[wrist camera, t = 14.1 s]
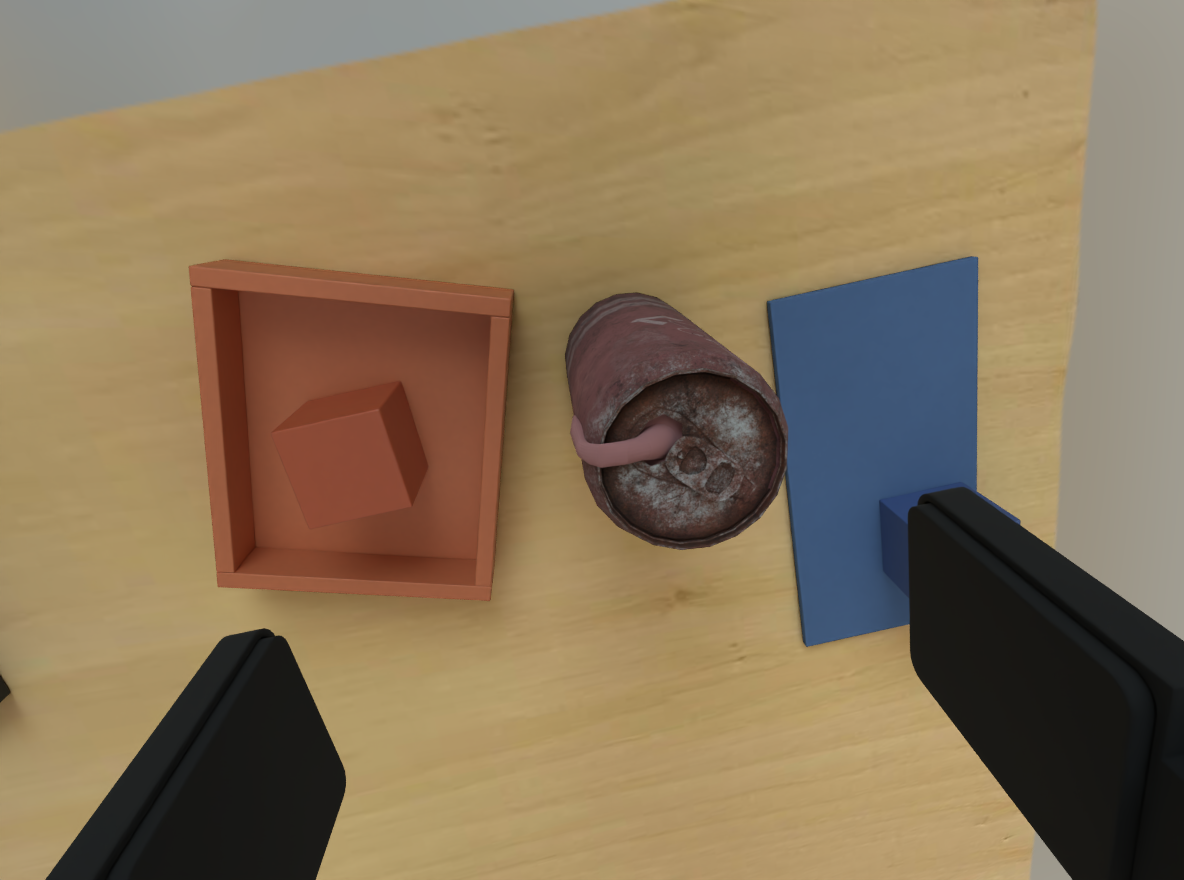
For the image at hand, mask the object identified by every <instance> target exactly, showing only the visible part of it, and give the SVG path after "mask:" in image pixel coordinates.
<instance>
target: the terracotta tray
mask: <svg viewBox="0 0 1184 880" xmlns="http://www.w3.org/2000/svg"><path fill="white" fill-rule="evenodd" d="M189 275H190V285H191V286H192V287H191V296H192V307H193V318H194V329H195V340H196V351H197V362H198V373H199V384H200V395H201V406H202V417H203V428H204V439H205V450H206V461H207V472H208V483H209V494H210V504H211V515H212V526H213V537H214V548H215V559H216V570H217V583H218V587H228V588H248V589H267V590H287V591H307V592H326V593H346V594H366V595H385V596H405V597H425V598H445V599H464V600H484V601H490V600H491V591H492V583H493V574H494V565H495V551H496V537H497V523H498V509H499V494H500V480H501V466H502V452H503V438H504V424H505V410H506V396H507V382H508V368H509V353H510V339H511V325H512V311H513V297H514V290H513V289H504V288H494V287H485V286H475V285H465V284H456V283H446V282H437V281H427V280H417V279H408V278H398V277H388V276H379V275H369V274H360V273H350V272H340V271H331V270H321V269H311V268H302V267H292V266H283V265H273V264H263V263H254V262H244V261H234V260H219V261H214V262H208V263H203V264H197V265H192V266H189ZM396 381H401V382H402V385H403V388H404V391H405V394H406V397H407V401H408V404H409V407H410V410H411V413H412V416H413V419H414V423H415V426H416V429H417V432H418V435H419V438H420V441H421V444H422V448H423V451H424V454H425V457H426V460H427V463H428V466H429V467H428V470H427V472H426V475H425V477H424V480H423V482H422V484H421V487H420V489H419V492H418V494H417V496H416V499H415V501H414V504H413V506H412V507H411V508H406V509H402V510H397V511H392V512H388V513H383V514H379V515H374V516H370V517H365V518H361V519H356V520H352V521H347V522H342V523H338V524H333V525H329V526H324V527H320V528H315V529H309V528H308V525H307V523H306V521H305V518H304V516H303V513H302V511H301V508H300V506H299V503H298V501H297V498H296V496H295V493H294V491H293V489H292V486H291V484H290V481H289V479H288V476H287V474H286V471H285V469H284V466H283V464H282V461H281V459H280V456H279V454H278V452H277V449H276V447H275V444H274V442H273V439H272V437H271V432H272V431H273V430H274V429H275V428H277V427H278V426H279V425H280V424H281V423H282V422H284V421H285V420H286V419H287V418H288V417H289V416H291V415H292V414H293V413H294V412H295V411H296V410H297V409H299V408H300V407H301V406H302V405H303V404H304V403H306V402H307V401H309V400H314V399H319V398H323V397H328V396H332V395H337V394H341V393H346V392H350V391H355V390H360V389H364V388H369V387H373V386H378V385H382V384H387V383H391V382H396Z"/></svg>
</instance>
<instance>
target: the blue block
mask: <svg viewBox="0 0 1184 880" xmlns="http://www.w3.org/2000/svg"><path fill="white" fill-rule="evenodd" d="M956 487H965V488H968V489H970V490H971V491H972V492H974V493H975V494H977V495H978V496H979V497H981V498H982V499H984V500H985V501H986V502H988V503H989V504H991V505H992V506H994V507H995V508H996V509H998V510H999V511H1001V512H1002V513H1003V514H1005V515H1006V516H1008V517H1009V518H1011V519H1012V520H1013V521H1015V522H1016V523H1018V524H1019V525H1020V520H1019V519H1018V518H1016V517H1015V516H1013V515H1012V514H1010V513H1009V512H1007V511H1006V510H1004V509H1003V508H1001V507H1000V506H998V505H996V504H995V503H993V502H992V501H990V500H989V499H987V498H986V497H984V496H983V495H981V494H980V493H978V492H977V491H975V490H974V489H972V488H971V487H969V486H968V485H966V484H965V483H963V482H958V483H954V484H949V485H945V486H940V487H936V488H931V489H927V490H922V491H917V492H913V493H908V494H904V495H899V496H895V497H890V498H886V499H881V500H880V519H881V538H882V557H883V571H884V573H885V574H886V575H887V576H888V577H889V578H890V579H891V580H892V581H893V582H894V583H895V584H896V585H897V586H898V588H899V589H900V590H901V591H902V592H903V593H904V594H905V595H906V596H907V597H908V598H909V562H908V512H909V509H910V508H911V507H913V506H917V504H918V500H919V498H920V496H922V495H923V494H927V493H932V492H937V491H942V490H947V489H951V488H956Z"/></svg>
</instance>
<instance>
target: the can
mask: <svg viewBox="0 0 1184 880" xmlns="http://www.w3.org/2000/svg"><path fill="white" fill-rule="evenodd" d="M565 360H566V370H567V378H568V384H569V390H570V395H571V401H572V407H573V413H574V416H573V419H572V425H571V431H570V434H571V437H572V440H573V443H574V446H575V449H576V452H577V455H578V456H579V457H580V458H581V459H582V464H583V470H584V476H585V480H586V482H587V484H588V486H589V489H590V491H591V493H592V495H593V497H594V499H595V502H596V504H597V506H598V507H599V508H600V509H601V510H602V511H603V512H604V513H605V514H606V515H607V516H608V517H609V518H610V519H611V520H612V521H613V522H614V523H615V524H616V525H617V526H618V527H619V528H621V529H623V530H625V531H627V532H629V533H631V534H633V535H635V536H637V537H639V538H640V539H642V540H645V541H647V542H649V543H651V544H653V545H656V546H662V547H667V548H673V549H679V550H685V549H694V548H703V547H710V546H713V545H715V544H718V543H720V542H723V541H725V540H728V539H730V538H733V537H735V536H737V535H739V534H740V533H741V532H743V531H744V530H745V529H746V528H748V527H749V526H750V525H752V524H753V523H754V522H756V521H757V520H758V519H760V517H761V516H762V515H763V513H764V512H765V511H766V509H767V508H768V507H769V505H770V504H771V503H772V501H773V500H774V499H775V497H776V496H777V494H778V491H779V488H780V486H781V483H782V480H783V477H784V475H785V472H786V469H787V454H788V425H787V422H786V419H785V416H784V413H783V409H782V406H781V403H780V400H779V398H778V397H777V395H776V394H775V393H774V391H773V390H772V389H771V388H770V386H769V385H768V384H767V382H766V381H765V380H764V379H763V377H762V376H761V375H760V374H759V373H758V372H757V371H755V370H754V369H753V368H751V367H750V366H749V365H747V364H746V363H745V362H744V361H742V360H741V359H740V358H738V357H737V356H736V355H734V354H733V353H732V352H731V351H729V350H728V349H727V348H725V347H724V346H723V345H721V344H720V343H719V342H717V341H716V340H715V339H714V338H712V337H711V336H710V335H708V334H707V333H706V332H704V331H703V330H702V329H700V328H699V327H698V326H697V325H695V324H694V323H693V322H691V321H690V320H689V319H687V318H686V317H685V316H683V315H682V314H681V313H680V312H678V311H677V310H676V309H674V308H673V307H671V306H670V305H668V304H666V303H665V302H663V301H662V300H660V299H659V298H657V297H653V296H649V295H645V294H641V293H626V294H616V295H613V296H611V297H609V298H606V299H604V300H602V301H599V302H597V303H595V304H594V305H593V306H592V307H591V308H590V309H589V310H588V311H586V312H585V313H584V314H583V315H582V316H581V317H580V318H579V320H578V322H577V323H576V325H575V327H574V328H573V330H572V332H571V333H570V335H569V340H568V344H567V348H566V353H565Z"/></svg>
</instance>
